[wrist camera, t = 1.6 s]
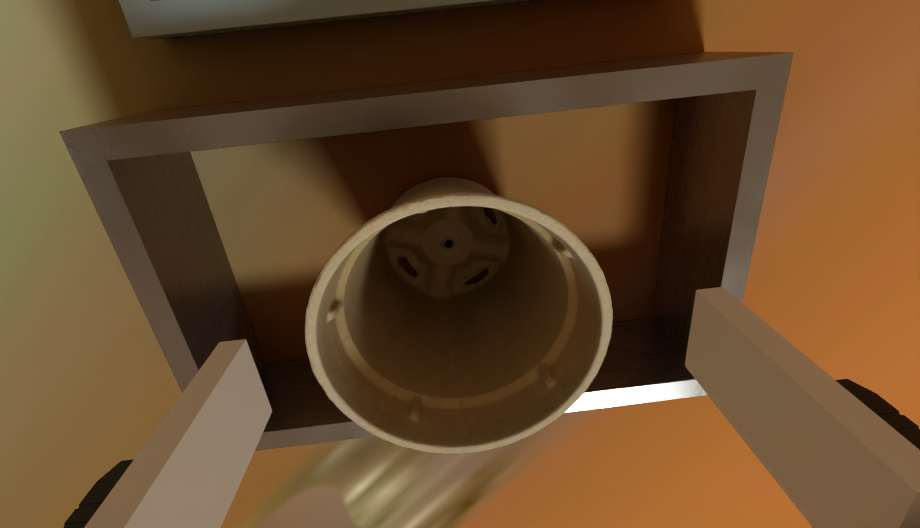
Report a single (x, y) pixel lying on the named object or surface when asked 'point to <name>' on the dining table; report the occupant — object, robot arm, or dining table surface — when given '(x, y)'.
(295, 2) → the tray
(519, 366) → the flower pot
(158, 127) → the metal holder
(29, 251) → the dining table surface
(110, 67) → the dining table surface
